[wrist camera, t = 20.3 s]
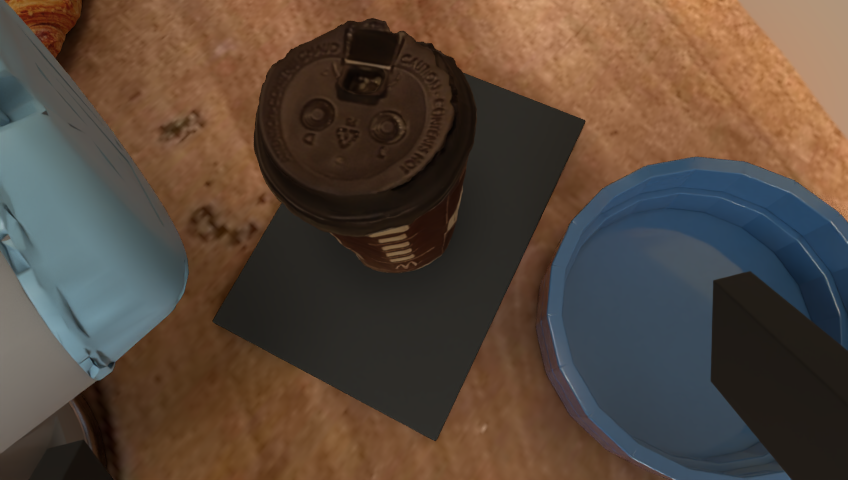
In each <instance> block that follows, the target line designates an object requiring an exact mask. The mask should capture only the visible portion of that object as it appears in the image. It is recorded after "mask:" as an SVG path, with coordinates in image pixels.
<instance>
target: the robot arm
mask: <svg viewBox="0 0 848 480" xmlns="http://www.w3.org/2000/svg"><path fill="white" fill-rule="evenodd" d="M188 274H189V270H188V259H187V255H186V252H185V248H184V245H183V243H182V241H181V238H180V236H179V234H178V232H177V230H176V228H175V226H174V224H173V222H172V220H171V218H170V217H169V215H168V213H167V211H166V210H165V208H164V206H163V205H162V203H161V201H160V200H159V198H158V197H157V195H156V193H155V192H154V190H153V189H152V188H151V186H150V185H149V183H148V182H147V180H146V179H145V177H144V176H143V174H142V173H141V171H140V170H139V168H138V167H137V165H136V164H135V163H134V161H133V160H132V158H131V157H130V155H129V154H128V152H127V151H126V149H125V148H124V147H123V145H122V144H121V143H120V141H119V140H118V139H117V137H116V136H115V135H114V133H113V132H112V130H111V129H110V128H109V126H108V125H107V124H106V122H105V121H104V120H103V118H102V117H101V116H100V114H99V113H98V112H97V110H96V109H95V108H94V106H93V105H92V104H91V103H90V101H89V100H88V99H87V97H86V96H85V95H84V94H83V92H82V91H81V90H80V89H79V87H78V86H77V85H76V83H75V82H74V81H73V80H72V78H71V77H70V76H69V75H68V73H67V72H66V71H65V70H64V69H63V67H62V66H61V65H60V64H59V62H58V61H57V60H56V59H55V58H54V56H53V55H52V54H51V53H50V52H49V50H48V49H47V48H46V47H45V46H44V44H43V43H42V42H41V41H40V40H39V39H38V37H37V36H36V35H35V34H34V33H33V32H32V30H31V29H30V28H29V27H28V26H27V25H26V24H25V23H24V21H23V20H22V19H21V18H20V17H19V16H18V15H17V14H16V12H15V11H14V10H13V9H12V8H11V7H10V6H9V5H8V4H7V3H6V2H5V1H4V0H0V480H113V478H112V477H111V476H110V474H109V473H108V472H107V467H106V457H105V450H104V445H103V440H102V437H101V433H100V430H99V427H98V424H97V422H96V420H95V417H94V415H93V413H92V411H91V409H90V408H89V406H88V404H87V402H86V401H85V400H84V398H83V397H82V395H81V394H80V393H81V392H82V391H84V390H85V389H86V388H88V387H89V386H90V385H92V384H93V383H94V382H96V381H97V380H101V379H103V378H104V377H105V376H107V375H108V374H109V373H111V372H112V371H113V369H114V367H115V362H116V361H117V360H118V359H119V358H120V357H121V356H122V355H124V354H125V353H126V352H127V351H128V350H129V349H130V348H131V347H133V346H134V345H135V344H136V343H137V342H138V341H139V340H141V339H142V338H143V337H144V336H145V335H146V334H147V333H149V332H150V331H151V330H152V329H153V328H154V327H155V326H157V325H158V324H159V323H160V322H161V321H162V320H163V319H164V318H166V317H167V316H168V315H169V314H170V313H171V312H172V311H173V310H174V309H175V307H176V304H177V303H178V302H179V300H180V299H181V297H182V295H183V293H184V291H185V287H186V283H187V278H188ZM711 382H712V383H713V385H714V386H715V387H716V388H717V390H718V391H719V392H720V393H721V394H722V396H723V397H724V398H725V399H726V400H727V402H728V403H729V404H730V405H731V407H732V408H733V409H734V410H735V411H736V413H737V414H738V415H739V416H740V418H741V419H742V420H743V421H744V422H745V424H746V425H747V426H748V427H749V428H750V430H751V431H752V432H753V433H754V435H755V436H756V437H757V438H758V439H759V441H760V442H761V443H762V444H763V445H764V447H765V448H766V449H767V450H768V452H769V453H770V454H771V455H772V456H773V458H774V459H775V460H776V461H777V463H778V464H779V465H780V466H781V467H782V469H783V470H784V471H785V472H786V473H787V475H788V476H789V477H790V478H791V480H848V350H846V349H845V348H844V347H843V346H842V345H840V344H839V343H838V342H837V341H835V340H834V339H833V338H832V337H831V336H829V335H828V334H827V333H826V332H824V331H823V330H822V329H821V328H820V327H818V326H817V325H816V324H815V323H813V322H812V321H811V320H810V319H808V318H807V317H806V316H805V315H804V314H802V313H801V312H800V311H799V310H797V309H796V308H795V307H794V306H793V305H791V304H790V303H789V302H788V301H786V300H785V299H784V298H783V297H782V296H780V295H779V294H778V293H777V292H775V291H774V290H773V289H772V288H771V287H769V286H768V285H767V284H766V283H764V282H763V281H762V280H761V279H760V278H758V277H757V276H756V275H755V274H753V273H752V272H751V271H748V272H744V273H740V274H736V275H732V276H728V277H724V278H720V279H716V280H713V308H712V346H711Z"/></svg>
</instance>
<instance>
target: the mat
mask: <svg viewBox="0 0 848 480" xmlns="http://www.w3.org/2000/svg"><path fill="white" fill-rule="evenodd" d="M463 74H464V75H465V78H466V80H467V82H468V83H469V85H470V88H471V91H472V93H473V96H474V101H475V103H476V108H477V112H476V113H477V123H476V132H475V137H474V144H473V147H472V150H471V151H470V153H469V156H468V161H467V165H466V174H465V178H464V182H463V193H462V195H461V201H460V206H459V209H458V216H457V222H456V224H455V229H454V232H453V235H452V237H451V240H450V242H449V245H448V247H447V248H446V250H445V251H444V253H443V254H442V255H441V256H440V257H438V258H437V259H435V260H434V261H433V262H431V263H430V264H428V265H426V266H424V267H422V268H420V269H416V270H413V271H408V272H402V273H387V272H380V271H376V270H373V269H371V268H369V267H367V266H365V265H364V264H363V263H362V262H361V260H360V259H359V258H358V257H357V256H356V254H355V253H354V252H352V251H351V250H350V249H348V248H346V247H344V246H343V245H342V244H341V243H340V242H339V241H338V240H337V239H336V238H335V236H333V235H332V234H330V233H328V232H323V231H321V230H319V229H317V228H316V227H314V226H312V225H310V224H308V223H306V222H305V221H303V220H302V219H300V218H299V217H297V216H295V215H293V214H292V213H291V212H290V211H289V210H288V208H286V206H285V205H284V204H283V203H282V204H281V205H280V207H279V209H278V210H277V212H276V214H275V215H274V217H273V219H272V221H271V222H270V224H269V226H268V227H267V229H266V231H265V232H264V234H263V236H262V238H261V239H260V241H259V243H258V244H257V246H256V248H255V249H254V251H253V253H252V255H251V256H250V258H249V260H248V261H247V263H246V265H245V266H244V268H243V270H242V272H241V273H240V275H239V277H238V278H237V280H236V282H235V283H234V285H233V287H232V289H231V290H230V292H229V294H228V295H227V297H226V299H225V300H224V302H223V304H222V306H221V307H220V309H219V311H218V312H217V314H216V316H215V317H214V319H213V322H214V323H215V324H217V325H219V326H221V327H223V328H225V329H227V330H228V331H230V332H232V333H234V334H236V335H238V336H240V337H242V338H243V339H245V340H247V341H249V342H251V343H253V344H255V345H257V346H258V347H260V348H262V349H264V350H266V351H268V352H270V353H271V354H273V355H275V356H277V357H279V358H281V359H283V360H285V361H286V362H288V363H290V364H292V365H294V366H296V367H298V368H299V369H301V370H303V371H305V372H307V373H309V374H311V375H313V376H314V377H316V378H318V379H320V380H322V381H324V382H326V383H327V384H329V385H331V386H333V387H335V388H337V389H339V390H341V391H342V392H344V393H346V394H348V395H350V396H352V397H354V398H355V399H357V400H359V401H361V402H363V403H365V404H367V405H369V406H370V407H372V408H374V409H376V410H378V411H380V412H382V413H383V414H385V415H387V416H389V417H391V418H393V419H395V420H397V421H398V422H400V423H402V424H404V425H406V426H408V427H410V428H411V429H413V430H415V431H417V432H419V433H421V434H423V435H425V436H426V437H428V438H430V439H432V440H434V441H436V440H437V438H438V436H439V434H440V432H441V430H442V428H443V425H444V423H445V421H446V419H447V417H448V415H449V413H450V410H451V408H452V406H453V404H454V402H455V400H456V398H457V395H458V393H459V391H460V389H461V387H462V385H463V383H464V381H465V378H466V376H467V374H468V372H469V370H470V368H471V366H472V363H473V361H474V359H475V357H476V355H477V353H478V351H479V348H480V346H481V344H482V342H483V340H484V338H485V336H486V333H487V331H488V329H489V327H490V325H491V323H492V321H493V318H494V316H495V314H496V312H497V310H498V308H499V306H500V304H501V301H502V299H503V297H504V295H505V293H506V291H507V289H508V286H509V284H510V282H511V280H512V278H513V276H514V274H515V271H516V269H517V267H518V265H519V263H520V261H521V259H522V256H523V254H524V252H525V250H526V248H527V246H528V244H529V241H530V239H531V237H532V235H533V233H534V231H535V229H536V227H537V224H538V222H539V220H540V218H541V216H542V214H543V212H544V209H545V207H546V205H547V203H548V201H549V199H550V197H551V194H552V192H553V190H554V188H555V186H556V184H557V182H558V179H559V177H560V175H561V173H562V171H563V169H564V167H565V164H566V162H567V160H568V158H569V156H570V154H571V152H572V150H573V147H574V145H575V143H576V141H577V139H578V137H579V135H580V132H581V130H582V128H583V126H584V124H585V120H583V119H581V118H578V117H575V116H573V115H570V114H568V113H565V112H563V111H560V110H558V109H555V108H552V107H550V106H547V105H545V104H542V103H540V102H537V101H534V100H532V99H529V98H527V97H524V96H522V95H519V94H516V93H514V92H511V91H509V90H506V89H504V88H501V87H498V86H496V85H493V84H491V83H488V82H486V81H483V80H481V79H478V78H475V77H473V76H470V75H468V74H465V73H463Z"/></svg>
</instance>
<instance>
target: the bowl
mask: <svg viewBox="0 0 848 480" xmlns="http://www.w3.org/2000/svg"><path fill="white" fill-rule="evenodd" d="M748 271H751V272H752V273H753V274H755V275H756V276H757V277H758V278H760V279H761V280H762V281H763V282H764V283H766V284H767V285H768V286H769V287H771V288H772V289H773V290H774V291H775V292H777V293H778V294H779V295H780V296H782V297H783V298H784V299H785V300H786V301H788V302H789V303H790V304H791V305H793V306H794V307H795V308H796V309H797V310H799V311H800V312H801V313H802V314H804V315H805V316H806V317H807V318H808V319H810V320H811V321H812V322H813V323H815V324H816V325H817V326H818V327H820V328H821V329H822V330H823V331H824V332H826V333H827V334H828V335H829V336H831V337H832V338H833V339H834V340H835V341H837V342H838V343H839V344H840V345H842V346H843V347H844V348H845V349H846V350H848V222H847V221H846V220H845V218H844V217H843V216H842V215H841V214H839V212H838V211H836V210H835V209H834V208H832V207H831V206H829V205H828V204H827V203H825V202H824V201H822V200H821V199H820V198H818V197H817V196H816V195H814V194H813V193H811V192H810V191H809V190H807V189H806V188H804V187H803V186H802V185H800V184H799V183H798V182H795V180H792V179H789V178H787V177H784V176H781V175H779V174H776V173H774V172H771V171H768V170H766V169H763V168H761V167H758V166H755V165H753V164H750V163H747V162H744V161H734V160H724V159H714V158H704V157H690V158H685V159H679V160H674V161H668V162H663V163H658V164H652V165H647V166H644V167H642V168H640V169H638V170H636V171H634V172H632V173H630V174H629V175H627V176H625V177H623V178H621V179H619V180H617V181H615V182H613V183H611V184H610V185H608V186H606V187H604V188H602V189H601V191H600V192H599V193H598V194H597V195H596V196H595V197H594V198H593V199H592V200H591V201H590V202H589V203H588V204H587V205H586V206H585V207H584V208H583V209H582V210H581V211H580V213H579V214H578V215H577V216H576V217H575V218H574V219H573V220H572V221H571V223H570V224H569V226H568V228H567V230H566V232H565V233H564V235H563V237H562V239H561V241H560V243H559V244H558V246H557V248H556V250H555V252H554V255H553V257H552V259H551V261H550V263H549V266H548V268H547V270H546V272H545V274H544V277H543V279H542V281H541V283H540V288H539V298H538V309H537V319H536V331H537V336H538V340H539V345H540V349H541V354H542V358H543V363H544V367H545V371H546V372H547V373H546V374H547V376H548V378H549V380H550V381H551V383H552V385H553V386H554V388H555V390H556V392H557V393H558V395H559V397H560V399H561V400H562V402H563V404H564V406H565V407H566V409H567V411H568V413H569V414H570V416H571V417H572V418H573V419H574V420H575V421H576V422H578V423H579V424H580V425H581V426H582V427H583V428H584V429H585V430H586V431H587V432H588V433H589V434H590V435H591V436H592V437H593V438H594V439H595V440H596V441H598V442H599V443H600V444H601V445H602V446H603V447H604V448H605V449H606V450H608V451H609V452H611V453H613V454H615V455H617V456H619V457H621V458H623V459H625V460H627V461H629V462H631V463H633V464H635V465H637V466H639V467H641V468H643V469H645V470H647V471H649V472H651V473H653V474H656V475H659V476H661V477H664V478H667V479H669V480H791V478H790V477H789V476H788V475H787V473H786V472H785V471H784V470H783V469H782V467H781V466H780V465H779V464H778V463H777V461H776V460H775V459H774V458H773V456H772V455H771V454H770V453H769V452H768V450H767V449H766V448H765V447H764V445H763V444H762V443H761V442H760V441H759V439H758V438H757V437H756V436H755V435H754V433H753V432H752V431H751V430H750V428H749V427H748V426H747V425H746V424H745V422H744V421H743V420H742V419H741V418H740V416H739V415H738V414H737V413H736V411H735V410H734V409H733V408H732V407H731V405H730V404H729V403H728V402H727V400H726V399H725V398H724V397H723V396H722V394H721V393H720V392H719V391H718V390H717V388H716V387H715V386H714V385H713V383H712V382H711V346H712V308H713V280H716V279H720V278H724V277H728V276H732V275H736V274H740V273H744V272H748Z"/></svg>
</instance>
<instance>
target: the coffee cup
mask: <svg viewBox="0 0 848 480" xmlns="http://www.w3.org/2000/svg"><path fill="white" fill-rule="evenodd" d="M476 112H477V108H476V103H475V101H474V96H473V93H472V91H471V88H470V85H469V83H468V82H467V80H466V78H465V75H464V74H463V72H462V71H461V69H459V68H458V67H457V65H456V64H455V60H454V59H453V58H452V57H449V56H446V55H444V54H442V52H441V51H438V50H436V49H435V48H434V46H433V44H432V43H424V42H416V41H415V39H414V38H412V37H411V36H410V35H408V34H407V33H406V32H405V31H399V32H398V33H392V32H390V30H389V27H388V26H387V23H386V21H381V20H378V19H374V18H371V19H367V20H365V21H362V22H355V21H347V22H346V23H345V24H343V25H340V26H338V27H337V28H336V29H334V30H332V31H329V32H327V33H326V34H323V35H321V36H319V37H317V38H315V39H314V40H312V41H309V42H307V43H304V44H301V45H299V46H298V47H296V48H294V49H291V50H290V51H289V53H287V55H286V57H285V58H284V59H282V60H279V61H278V62H277V63H275V64H273V65H272V66H271V68H270V70H269V71H268V73H267V75H266V80H265V82H264V83H263V85H262V89H261V94H260V98H259V106H258V109H257V113H256V121H255V132H254V151H255V154H256V157H257V160H258V163H259V166H260V170H261V172H262V175H263V177H264V179H265V182H266V184H267V185H268V187H269V188H270V190H271V191H272V192H273V194H274V195H275V196H276V198H277V199H278V200H279V201H280V202H282V203H283V204H284V205H285V206H286V208H288V210H289V211H290V212H291V213H292V214H293V215H295V216H297V217H299V218H300V219H302V220H303V221H305V222H306V223H308V224H310V225H312V226H314V227H316V228H317V229H319V230H321V231H323V232H328V233H330V234H332V235H333V236H335V238H336V239H337V240H338V241H339V242H340V243H341V244H342V245H343V246H344V247H346V248H348V249H350V250H351V251H352V252H354V253H355V254H356V256H357V257H358V258H359V259H360V260H361V262H362V263H363V264H364V265H365V266H367V267H369V268H371V269H373V270H376V271H380V272H387V273H402V272H408V271H413V270H416V269H420V268H422V267H424V266H426V265H428V264H430V263H431V262H433V261H434V260H435V259H437V258H438V257H440V256H441V255H442V254H443V253H444V251H445V250H446V248H447V247H448V245H449V242H450V240H451V237H452V235H453V232H454V229H455V224H456V222H457V216H458V209H459V206H460V201H461V195H462V193H463V182H464V178H465V174H466V165H467V161H468V156H469V153H470V151H471V150H472V147H473V144H474V137H475V132H476V123H477V113H476Z"/></svg>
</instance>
